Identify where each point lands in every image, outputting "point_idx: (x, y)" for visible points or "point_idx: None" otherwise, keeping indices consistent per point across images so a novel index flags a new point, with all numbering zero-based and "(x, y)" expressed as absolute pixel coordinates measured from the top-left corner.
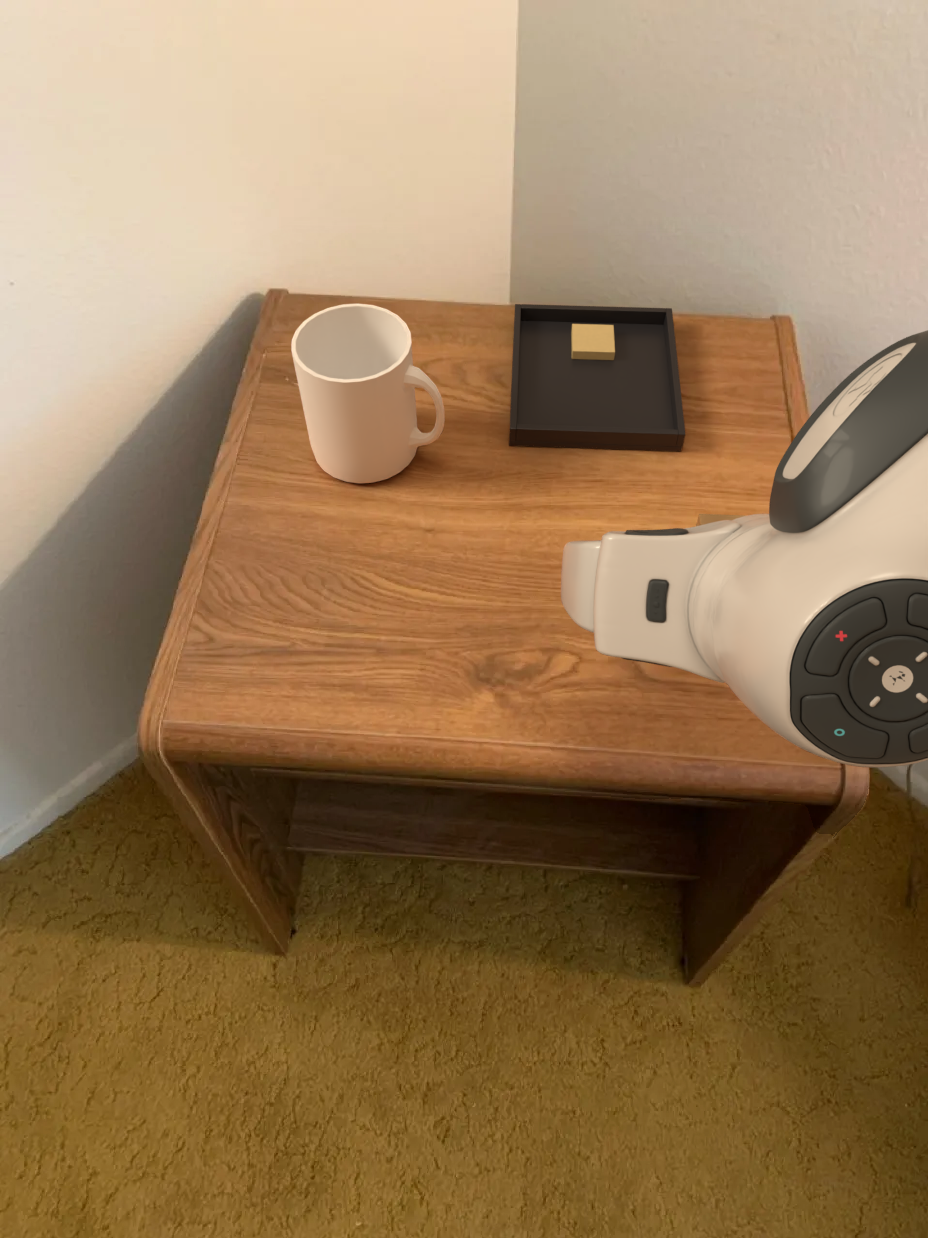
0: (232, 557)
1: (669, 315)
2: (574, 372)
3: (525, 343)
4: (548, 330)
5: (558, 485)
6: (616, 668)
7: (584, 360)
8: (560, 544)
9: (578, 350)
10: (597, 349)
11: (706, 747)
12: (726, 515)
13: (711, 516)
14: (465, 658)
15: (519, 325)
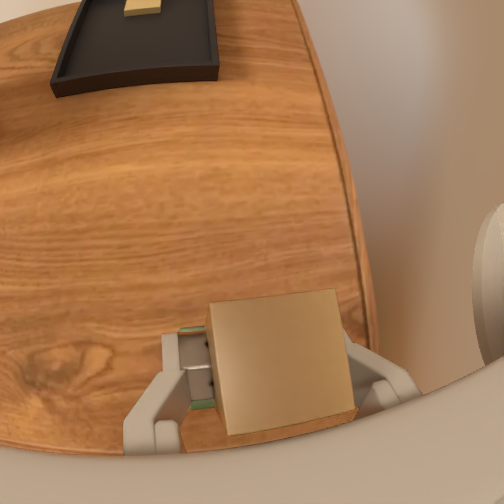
0: None
1: None
2: (124, 25)
3: (90, 13)
4: (111, 2)
5: (93, 129)
6: (152, 360)
7: (135, 16)
8: (88, 200)
9: (129, 9)
10: (145, 6)
11: (254, 435)
12: (284, 299)
13: (244, 308)
14: (11, 358)
15: (84, 2)
